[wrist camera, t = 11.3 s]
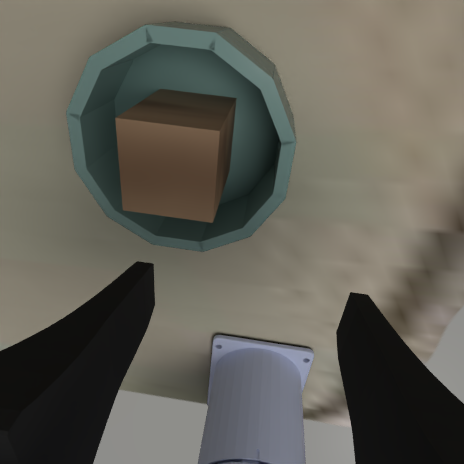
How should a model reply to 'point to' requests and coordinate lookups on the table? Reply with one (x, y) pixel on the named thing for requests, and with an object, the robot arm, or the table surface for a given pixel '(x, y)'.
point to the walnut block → (175, 154)
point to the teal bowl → (195, 81)
